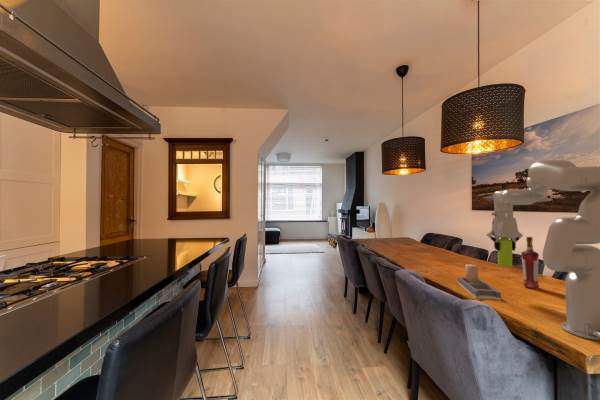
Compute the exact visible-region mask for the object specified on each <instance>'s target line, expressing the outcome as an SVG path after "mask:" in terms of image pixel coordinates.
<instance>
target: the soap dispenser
mask: <svg viewBox="0 0 600 400" xmlns="http://www.w3.org/2000/svg"><path fill="white" fill-rule="evenodd" d="M498 242H499V245H500V250H497V266H499V267H504V268H512V267H513V250H512V240H510V238H509V237H500V238H499V241H498Z"/></svg>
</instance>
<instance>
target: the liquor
mask: <svg viewBox="0 0 600 400" xmlns="http://www.w3.org/2000/svg"><path fill="white" fill-rule="evenodd" d="M525 241H526V248H525V249H526V250H524V251H522V252H520V253H521V263H522V264H521V265H522V272H523V274H522V275H523V283H522V284H523V286H524V287H525V288H527V289H532V290H534V289H535V290H536V289H538V288H539V287H540V285H539V266H540V263H539V262H540V261H539V259H540V254H539V253H538V252H536V251H535V250H534V246H533V241H534V240H533V237H532V236H526V238H525Z"/></svg>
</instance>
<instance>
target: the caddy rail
mask: <svg viewBox="0 0 600 400" xmlns="http://www.w3.org/2000/svg"><path fill="white" fill-rule="evenodd" d="M464 266H465V268H464V269H465V272H464V273H465V276H464V277H463V276H462V277H461V276H457V283H458V284H457V285H459V284H460V285H459V286H461V287H462V288H463V289H464V290H465V291H467V293H469V294H470V295H471V296H472V297H474V298H475V299H479V300H480V299H481V300H495V301H496V300H497V301H501V300H502V293H501V291H499V290H497V289H496V288H494V287H493V286H491V284H488V283H487V282H485V281H484V280H482V279H481V278H479V266H478V265H477V264H471V263H470V264H469V263H467V264H465V265H464Z"/></svg>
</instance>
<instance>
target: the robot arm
mask: <svg viewBox="0 0 600 400" xmlns="http://www.w3.org/2000/svg"><path fill="white" fill-rule="evenodd" d="M527 175H528V177H527V179H526V186H527V187H528V188H527V189H526V188H524V189H504V190H498V191H494V193H493V205H494V207H493V208H494V210H493V212H491V216H493V218H492V223H491V230H490V231H489V232H487V234H486V236H487V238H488V239H490V240H491V241H492V242H494V243H493V246H494V249H495V250H496V251H498V250H500V245H499V242H498V241H499V239H501V237H509V240H512V252H516V249H517V248H516V247H517V245H516V243H517V242H518V241H519V240H520V239H521V238H522V237H523V236H524V235H523V234H522V233H521V232H520V231H519V228H518V227H519V226H518V223H517V219H516V217H514V206H527V205H528V206H529V205H533V204H535V203H536V204H537V203H538V202H540V201H541V200H544V199H545V198H546V197H547V195H548V193H549V190H551V189H553V190H557V191H562V192H584V191H588V192H590V193H589V194H588V195H586V196H585V198H583V200H582V201H581V202H580V205H579V208H578V211H577V214H576V216H573V217H571V216H570V217H561V218H557V219H555V220H554V221H553V222H551V224H550V226H549V227H548V230H547V233H546V238H545V242H544V246H543V251H542V261H543V263H544V266H545V267H546V268H547V269H548V270H551V271H552V272H553V271H554V272H557V273H558V272H559V273H560V272H561V273H567V272H568V273H567V275H566V277H565V282H564V284H565V286H564V288H565V290H564V291H565V310H566V311H565V315H566V321H563V322H561V323H560V328H561V329H562V330H564V331H565V332H567V333H568V334H571V335H574V336H576V337H577V336H578V337H580V338H584V339H587V340H591V341H592V340H593V341H600V248H599V247H595V246H593V245H597V244H600V166H576V164H575V163H573V162H571V161H569V160H562V159H556V160H555V159H553V160H549V159H548V160H539V161H536V162H534V163H532V165H531V166H529V168H528V172H527Z"/></svg>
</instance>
